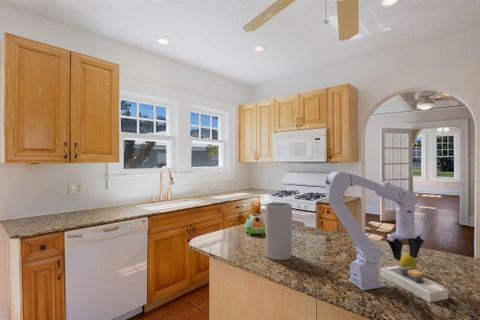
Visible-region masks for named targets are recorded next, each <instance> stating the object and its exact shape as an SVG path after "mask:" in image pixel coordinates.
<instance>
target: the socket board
mask: <svg viewBox="0 0 480 320" xmlns="http://www.w3.org/2000/svg"><path fill="white" fill-rule="evenodd" d="M394 268H402V267H401V266H399V265H398V264H395V265H394V266H388V267H387V266H386V267H385V266H382V267H381V268H380V271H379V273H380V274H379V275H380V277H382V278H384V279H386V280H387V281H389V282H391V283H393V284H395V285H397V286H398V285H399V287H400V288H402V289H404V290H406V291H408V292H409V293H411V294H413V295H416V296H417V297H418V298H421V299H423V300H424V301H426V302H428V303H433V302H439V301H443V300H448V299H449V289H447V288H446V287H445V286H443V285H441V284H439V283H438V282H437V283H436V282H435V281H433V280H430V279H429V278H426V277H424V276H423V283H421V284H418V283H416V282H414V281H412V280H410V279H408V275H407V276H402V275H400V274H398V273H396V272H394V271H392V270H390V269H394Z"/></svg>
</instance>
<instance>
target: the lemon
mask: <svg viewBox="0 0 480 320" xmlns="http://www.w3.org/2000/svg"><path fill="white" fill-rule="evenodd" d="M399 264H400V267H402V268H404V267H412V270H416V269H417V262H416V258H413V257H411V256H410V253H409V252H408V253H404V254H401V260H399Z"/></svg>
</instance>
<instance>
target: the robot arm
mask: <svg viewBox="0 0 480 320" xmlns="http://www.w3.org/2000/svg"><path fill="white" fill-rule="evenodd" d="M324 185H325V197H326V201H327V202H328V204H329V206H330V207H331V209H332V210H333V212H334V213H335V215H336V217H337V218H338V220H339V221H340V222H341V224H342V226H343V227H344V229H345V230H346V232H347V233H348V235H349V236H350V238H351V241H352V243H353V245H354V251H355V252H356V253H357V254H356V259H355V260H354V261H351V262H350V263H349V278H348V282H350V283H351V284H353V285H354V286H356V287H357V288H359V289H361V290H362V291H368V290H373V289H380V288H385V285H384V284H383V283H380V282H379V262H380V261H381V259H382V254H383V253H382V251H381V249H380V248H379V247H378V246H376V245H375V244H374V243H373V241H372V240H370V238H369V237H368V236H367V235H366V233H365V232H364V231H363V229H362V228H361V225H359V223H358V222H357V219H356V218H355V216H354V215H353V213H352V212H351V211H350V209H349V208H348V206H347V204H346V203H345V202H344V200H343V197H344V194H345V192H346V191H347V190H348V188H349V187H355V186H358V187H362V188H365V189H368V190H370V191H374V192H375V194H376V196H377V197H380V198H383V199H386V200H388V201H391V202H394V203H395V231H394V232H392V233H388V234H386V235H387V238H386V242H387V243H388V246H389V247H390V249H391V252H392V255H393V258H394V260H397V261H400V260H401V256H402V251H403V246H404V244H405V243H404V242H401V240H407V242H408V249H409V255H410V256H411V257H413V258H414V259H417V257H418V255H419V252H420V249H421V247H422V245H423V244H424V243H425V239H423V237H424V233H423V232H422V231H419V230H418V231H415V210H416V209H415V208H416V207H415V206H416V205H417V203H418V201H419V198H418V197H417V195H416V193H415V192H414V191H413V190H410V189H409V190H408V189H405V188H404V187H403V186H400V185H399V186H396V185H394V184H392V183H391V181H380V182H375V181H373V180H370V179H368V178H365V177H362V176H360V175H358V174H353V173H347V172H345V171H337V170H334V171H333V170H332V171H330V172H329V173H328V174H327V175H326V177H325V181H324Z"/></svg>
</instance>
